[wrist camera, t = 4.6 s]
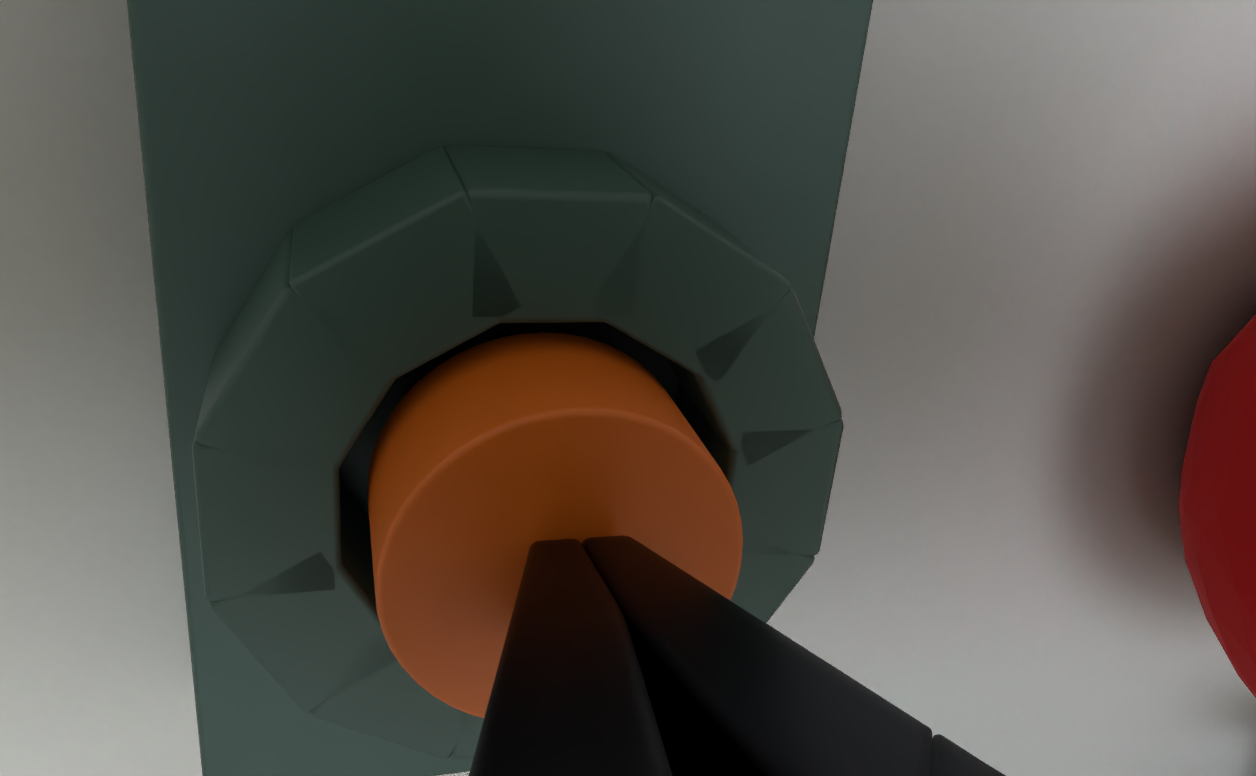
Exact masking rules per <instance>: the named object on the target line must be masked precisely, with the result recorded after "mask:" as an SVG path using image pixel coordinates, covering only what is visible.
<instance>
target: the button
mask: <svg viewBox="0 0 1256 776" xmlns="http://www.w3.org/2000/svg"><path fill="white" fill-rule="evenodd" d="M367 496H368V509H369V522H370V535H371V548H372V561H373V573H374V586H375V598H376V609H377V614H378V618H379V622H380V625H381V629H382V632H383V634H384V636H385V639H386V641H387V643H388V645H389V648H390V650H391V651H392V653H393V654H394V656H395V657H396V659H397V660H398V662H399V663H400V665H401V666H402V667H403V668H404V669H405V671H406V672H407V673H408V674H409V675H410V676H411V677H412V678H413V679H414V680H415V681H416V682H417V683H418V684H419V685H420V686H421V687H423V688H424V689H425V690H426V691H428V692H429V693H430V694H431V695H433V696H434V697H436V698H437V699H439V700H441V701H443V702H444V703H446V704H448V705H449V706H451V707H453V708H456V709H458V710H461V711H463V712H465V713H468V714H470V715H473V716H477V717H481V718H484V717H485V713H486V710H487V706H488V702H489V698H490V695H491V691H492V687H493V683H494V680H495V676H496V672H497V668H498V665H499V661H500V657H501V654H502V650H503V646H504V642H505V639H506V635H507V631H508V627H509V624H510V620H511V616H512V612H513V609H514V605H515V601H516V598H517V594H518V590H519V586H520V583H521V579H522V575H523V571H524V568H525V564H526V560H527V556H528V553H529V549H530V546H531V545H532V544H533V543H534V542H536V541H545V540H561V539H576V540H578V541H579V542H580V543H582V542H583V541H584V540H585V539H587V538H591V537H606V536H620V535H624V536H629V537H631V538H633V539H635V540H636V541H638V542H640V543H641V544H643V545H644V546H646V547H647V548H649V549H651V550H652V551H654V552H655V553H657V554H658V555H660V556H661V557H663V558H665V559H666V560H668V561H669V562H671V563H672V564H674V565H676V566H677V567H679V568H680V569H682V570H683V571H685V572H686V573H688V574H690V575H691V576H693V577H694V578H696V579H697V580H699V581H701V582H702V583H704V584H705V585H707V586H708V587H710V588H712V589H713V590H715V591H716V592H718V593H719V594H721V595H722V596H724V597H726V598H727V599H729V600H730V601H731V598H732V595H733V593H734V590H735V587H736V585H737V581H738V576H739V572H740V568H741V560H742V548H743V535H742V521H741V517H740V512H739V508H738V503H737V501H736V498H735V496H734V493H733V490H732V488H731V485H730V484H729V482H728V480H727V479H726V477H725V475H724V473H723V472H722V470H721V468H720V467H719V466H718V464H717V463H716V461H715V460H714V458H713V457H712V456H711V454H710V453H709V451H708V450H707V448H706V447H705V446H704V444H703V443H702V441H701V440H700V438H699V437H698V436H697V434H696V433H695V431H694V430H693V428H692V427H691V426H690V424H689V423H688V421H687V420H686V418H685V417H684V416H683V414H682V413H681V411H680V410H679V408H678V407H677V406H676V404H675V403H674V401H673V400H672V398H671V397H670V396H669V394H668V393H667V391H666V390H665V389H664V387H663V386H662V385H661V384H660V383H659V381H658V380H657V379H656V378H655V377H654V375H652V374H651V373H650V372H649V371H648V370H647V369H646V368H645V367H644V366H642V365H641V364H640V363H639V362H637V361H636V360H634V359H633V358H631V357H630V356H628V355H627V354H625V353H624V352H622V351H620V350H618V349H616V348H614V347H612V346H609V345H607V344H605V343H602V342H599V341H596V340H593V339H590V338H587V337H582V336H576V335H571V334H565V333H548V332H539V333H525V334H517V335H512V336H506V337H501V338H497V339H494V340H491V341H488V342H485V343H481V344H478V345H476V346H473V347H471V348H469V349H467V350H465V351H463V352H460V353H458V354H456V355H454V356H453V357H451V358H450V359H448V360H446V361H445V362H443V363H442V364H440V365H438V366H437V367H435V368H434V369H433V370H432V371H430V372H429V373H428V374H427V375H425V376H424V377H423V378H422V379H420V380H419V381H418V382H417V383H416V384H415V385H414V386H413V387H412V388H411V389H410V390H409V391H408V392H407V393H406V394H405V396H404V397H403V398H402V399H401V400H400V402H399V403H398V404H397V406H396V407H395V409H394V410H393V411H392V413H391V414H390V416H389V417H388V419H387V421H386V423H385V425H384V426H383V428H382V430H381V432H380V434H379V437H378V439H377V442H376V445H375V447H374V450H373V453H372V457H371V462H370V467H369V471H368V485H367Z"/></svg>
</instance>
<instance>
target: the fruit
mask: <svg viewBox="0 0 1256 776" xmlns="http://www.w3.org/2000/svg"><path fill="white" fill-rule="evenodd" d="M1179 515H1180V524H1181V533H1182V541H1183V548H1184V555H1185V561H1186V564H1187V567H1188V569H1189V572H1190V575H1191V578H1192V580H1193V583H1194V586H1195V589H1196V591H1197V594H1198V597H1199V599H1200V602H1201V605H1202V608H1203V610H1204V613H1205V616H1206V619H1207V621H1208V622H1209V624H1210V626H1211V628H1212V629H1213V631H1214V633H1215V635H1216V637H1217V638H1218V640H1219V642H1220V644H1221V646H1222V647H1223V649H1224V651H1225V653H1226V654H1227V656H1228V658H1229V660H1230V662H1231V663H1232V665H1233V667H1234V669H1235V670H1236V672H1237V674H1238V676H1239V677H1240V678H1241V680H1242V681H1243V682H1244V683H1245V685H1246V686H1247V687H1248V689H1249V690H1250V691H1251V692H1252V694H1253V695H1254V696H1255V698H1256V314H1255V316H1254V317H1253V318H1252V319H1251V320H1250V321H1249V322H1248V323H1247V324H1246V325H1245V326H1244V328H1243V329H1242V330H1241V331H1240V332H1239V333H1238V334H1237V335H1236V336H1235V337H1234V338H1233V340H1232V341H1231V342H1230V343H1229V344H1228V345H1227V346H1226V347H1225V348H1224V349H1223V350H1222V352H1221V353H1220V354H1219V355H1218V356H1217V357H1216V358H1215V359H1214V360H1213V361H1212V362H1211V364H1210V367H1209V370H1208V372H1207V375H1206V378H1205V381H1204V383H1203V386H1202V389H1201V392H1200V394H1199V397H1198V400H1197V403H1196V407H1195V412H1194V416H1193V421H1192V425H1191V430H1190V435H1189V439H1188V444H1187V448H1186V453H1185V457H1184V462H1183V467H1182V476H1181V487H1180V497H1179Z"/></svg>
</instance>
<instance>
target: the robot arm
mask: <svg viewBox="0 0 1256 776" xmlns="http://www.w3.org/2000/svg"><path fill="white" fill-rule="evenodd" d="M469 776H1006V775H1004V774H1002V773H1001V772H999V771H997V770H996V769H994V768H992V767H991V766H989V765H988V764H986V763H984V762H983V761H981V760H979V759H978V758H976V757H975V756H973V755H972V754H970V753H968V752H967V751H965V750H964V749H962V748H961V747H959V746H958V745H956V744H954V743H953V742H951V741H950V740H948V739H947V738H945V737H943V736H942V735H939V734H937V735H934V736H933V738H932V731H931V729H930V728H929V727H927V726H926V725H924V724H923V723H921V722H919V721H918V720H916V719H915V718H913V717H912V716H910V715H909V714H907V713H905V712H904V711H902V710H901V709H899V708H898V707H896V706H894V705H893V704H891V703H890V702H888V701H887V700H885V699H883V698H882V697H880V696H879V695H877V694H876V693H874V692H873V691H871V690H869V689H868V688H866V687H865V686H863V685H862V684H860V683H858V682H857V681H855V680H854V679H852V678H851V677H849V676H848V675H846V674H844V673H843V672H841V671H840V670H838V669H837V668H835V667H833V666H832V665H830V664H829V663H827V662H826V661H824V660H823V659H821V658H819V657H818V656H816V655H815V654H813V653H812V652H810V651H808V650H807V649H805V648H804V647H802V646H801V645H799V644H798V643H796V642H794V641H793V640H791V639H790V638H788V637H787V636H785V635H783V634H782V633H780V632H779V631H777V630H776V629H774V628H772V627H771V626H769V625H768V624H766V623H765V622H763V621H762V620H760V619H758V618H757V617H755V616H754V615H752V614H751V613H749V612H747V611H746V610H744V609H743V608H741V607H740V606H738V605H737V604H735V603H733V602H732V601H730V600H729V599H727V598H726V597H724V596H722V595H721V594H719V593H718V592H716V591H715V590H713V589H712V588H710V587H708V586H707V585H705V584H704V583H702V582H701V581H699V580H697V579H696V578H694V577H693V576H691V575H690V574H688V573H686V572H685V571H683V570H682V569H680V568H679V567H677V566H676V565H674V564H672V563H671V562H669V561H668V560H666V559H665V558H663V557H661V556H660V555H658V554H657V553H655V552H654V551H652V550H651V549H649V548H647V547H646V546H644V545H643V544H641V543H640V542H638V541H636V540H635V539H633V538H631V537H629V536H624V535H620V536H606V537H591V538H587V539H585V540H584V541H583V542H582V543H580V542H579V541H578V540H576V539H561V540H545V541H536V542H534V543H533V544H532V545H531V546H530V549H529V553H528V556H527V560H526V564H525V568H524V571H523V575H522V579H521V583H520V586H519V590H518V594H517V598H516V601H515V605H514V609H513V612H512V616H511V620H510V624H509V627H508V631H507V635H506V639H505V642H504V646H503V650H502V654H501V657H500V661H499V665H498V668H497V672H496V676H495V680H494V683H493V687H492V691H491V695H490V698H489V702H488V706H487V710H486V713H485V717H484V721H483V724H482V728H481V732H480V736H479V739H478V743H477V747H476V751H475V754H474V758H473V762H472V766H471V769H470V773H469Z"/></svg>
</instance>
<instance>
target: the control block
mask: <svg viewBox="0 0 1256 776" xmlns="http://www.w3.org/2000/svg"><path fill="white" fill-rule="evenodd" d="M872 3H873V0H127V6H128V17H129V27H130V37H131V47H132V57H133V68H134V78H135V88H136V98H137V109H138V119H139V129H140V139H141V150H142V160H143V170H144V180H145V191H146V201H147V211H148V221H149V231H150V242H151V252H152V262H153V272H154V283H155V293H156V303H157V313H158V324H159V334H160V344H161V354H162V365H163V375H164V385H165V395H166V405H167V416H168V426H169V436H170V446H171V457H172V467H173V477H174V487H175V498H176V508H177V518H178V528H179V539H180V549H181V559H182V569H183V579H184V590H185V600H186V610H187V620H188V631H189V641H190V651H191V661H192V672H193V682H194V692H195V702H196V713H197V723H198V733H199V743H200V753H201V764H202V774H203V776H435V775H443V774H451V773H459V772H467V771H470V769H471V766H472V762H473V758H474V754H475V751H476V747H477V743H478V739H479V736H480V732H481V728H482V724H483V721H484V718H481V717H477V716H473V715H470V714H468V713H465V712H463V711H461V710H458V709H456V708H453V707H451V706H449V705H448V704H446V703H444V702H443V701H441V700H439V699H437V698H436V697H434V696H433V695H431V694H430V693H429V692H428V691H426V690H425V689H424V688H423V687H421V686H420V685H419V684H418V683H417V682H416V681H415V680H414V679H413V678H412V677H411V676H410V675H409V674H408V673H407V672H406V671H405V669H404V668H403V667H402V666H401V665H400V663H399V662H398V660H397V659H396V657H395V656H394V654H393V653H392V651H391V650H390V648H389V645H388V643H387V641H386V639H385V636H384V634H383V632H382V629H381V625H380V622H379V618H378V614H377V609H376V598H375V586H374V573H373V561H372V548H371V535H370V522H369V509H368V496H367V485H368V471H369V467H370V462H371V457H372V453H373V450H374V447H375V445H376V442H377V439H378V437H379V434H380V432H381V430H382V428H383V426H384V425H385V423H386V421H387V419H388V417H389V416H390V414H391V413H392V411H393V410H394V409H395V407H396V406H397V404H398V403H399V402H400V400H401V399H402V398H403V397H404V396H405V394H406V393H407V392H408V391H409V390H410V389H411V388H412V387H413V386H414V385H415V384H416V383H417V382H418V381H419V380H420V379H422V378H423V377H424V376H425V375H427V374H428V373H429V372H430V371H432V370H433V369H434V368H435V367H437V366H438V365H440V364H442V363H443V362H445V361H446V360H448V359H450V358H451V357H453V356H454V355H456V354H458V353H460V352H463V351H465V350H467V349H469V348H471V347H473V346H476V345H478V344H481V343H485V342H488V341H491V340H494V339H497V338H501V337H506V336H512V335H517V334H525V333H539V332H548V333H565V334H571V335H576V336H582V337H587V338H590V339H593V340H596V341H599V342H602V343H605V344H607V345H609V346H612V347H614V348H616V349H618V350H620V351H622V352H624V353H625V354H627V355H628V356H630V357H631V358H633V359H634V360H636V361H637V362H639V363H640V364H641V365H642V366H644V367H645V368H646V369H647V370H648V371H649V372H650V373H651V374H652V375H654V377H655V378H656V379H657V380H658V381H659V383H660V384H661V385H662V386H663V387H664V389H665V390H666V391H667V393H668V394H669V396H670V397H671V398H672V400H673V401H674V403H675V404H676V406H677V407H678V408H679V410H680V411H681V413H682V414H683V416H684V417H685V418H686V420H687V421H688V423H689V424H690V426H691V427H692V428H693V430H694V431H695V433H696V434H697V436H698V437H699V438H700V440H701V441H702V443H703V444H704V446H705V447H706V448H707V450H708V451H709V453H710V454H711V456H712V457H713V458H714V460H715V461H716V463H717V464H718V466H719V467H720V468H721V470H722V472H723V473H724V475H725V477H726V479H727V480H728V482H729V484H730V485H731V488H732V490H733V493H734V496H735V498H736V501H737V503H738V508H739V512H740V517H741V521H742V535H743V548H742V560H741V568H740V572H739V576H738V581H737V585H736V587H735V590H734V593H733V595H732V598H731V601H732V602H733V603H735V604H737V605H738V606H740V607H741V608H743V609H744V610H746V611H747V612H749V613H751V614H752V615H754V616H755V617H757V618H758V619H760V620H762V621H763V622H765V623H767V621H768V620H769V619H770V617H771V616H772V615H773V614H774V612H775V611H776V610H777V609H778V607H779V606H780V605H781V603H782V602H783V601H784V600H785V598H786V597H787V596H788V594H789V593H790V592H791V591H792V589H793V588H794V587H795V585H796V584H797V583H798V582H799V580H800V579H801V578H802V576H803V575H804V574H805V573H806V571H807V570H808V569H809V567H810V566H811V565H812V564H813V561H814V559H815V558H814V555H816V554H818V552H819V550H820V545H821V540H822V534H823V529H824V524H825V519H826V514H827V509H828V504H829V498H830V493H831V488H832V483H833V478H834V473H835V467H836V462H837V457H838V452H839V447H840V442H841V437H842V431H843V421H842V419H841V417H842V416H841V407H840V405H839V402H838V400H837V397H836V395H835V392H834V390H833V387H832V385H831V382H830V380H829V377H828V375H827V372H826V370H825V367H824V364H823V362H822V359H821V357H820V354H819V352H818V349H817V347H816V344H815V342H814V335H815V329H816V323H817V318H818V312H819V306H820V300H821V295H822V289H823V283H824V278H825V272H826V266H827V260H828V255H829V249H830V243H831V237H832V232H833V226H834V220H835V215H836V209H837V203H838V197H839V192H840V186H841V180H842V175H843V169H844V163H845V157H846V152H847V146H848V140H849V134H850V129H851V123H852V117H853V112H854V106H855V100H856V94H857V89H858V83H859V77H860V72H861V66H862V60H863V54H864V49H865V43H866V37H867V31H868V26H869V20H870V14H871V9H872Z"/></svg>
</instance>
